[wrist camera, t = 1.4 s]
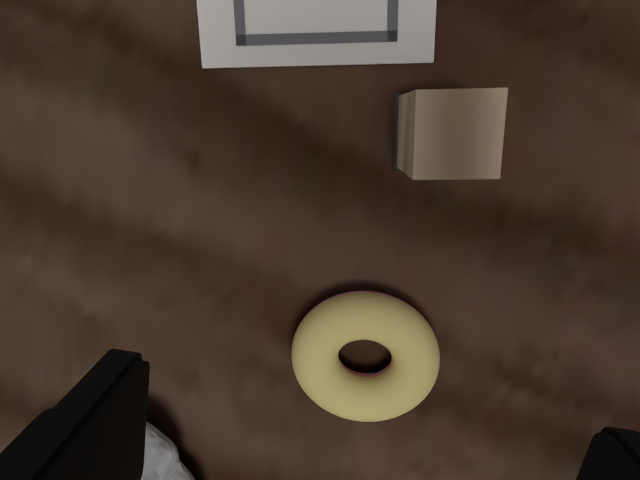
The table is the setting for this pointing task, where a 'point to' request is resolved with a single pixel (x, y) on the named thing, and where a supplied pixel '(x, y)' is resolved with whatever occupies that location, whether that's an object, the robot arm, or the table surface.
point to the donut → (365, 324)
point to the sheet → (315, 32)
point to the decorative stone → (162, 458)
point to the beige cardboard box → (449, 133)
